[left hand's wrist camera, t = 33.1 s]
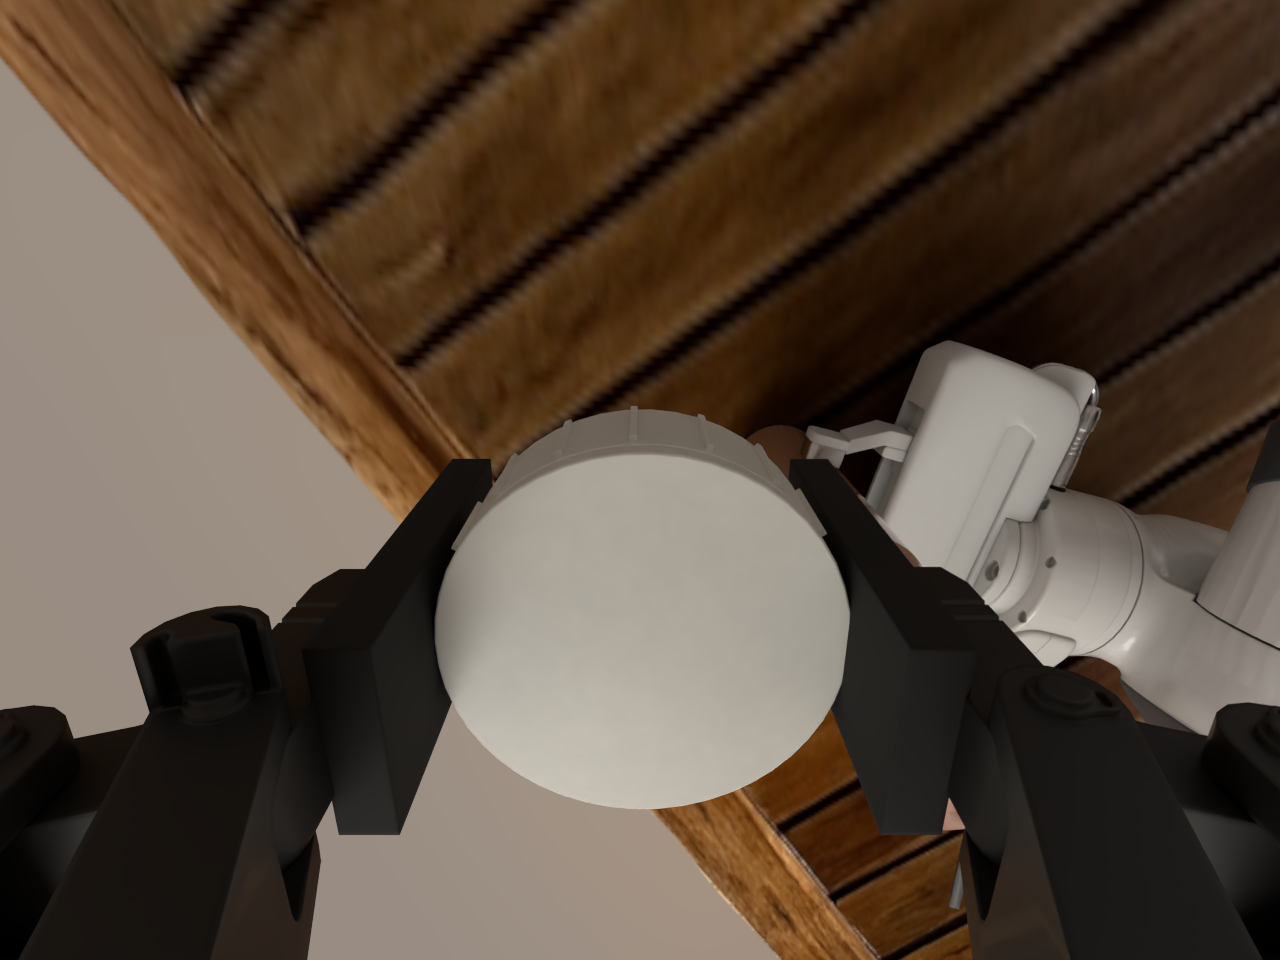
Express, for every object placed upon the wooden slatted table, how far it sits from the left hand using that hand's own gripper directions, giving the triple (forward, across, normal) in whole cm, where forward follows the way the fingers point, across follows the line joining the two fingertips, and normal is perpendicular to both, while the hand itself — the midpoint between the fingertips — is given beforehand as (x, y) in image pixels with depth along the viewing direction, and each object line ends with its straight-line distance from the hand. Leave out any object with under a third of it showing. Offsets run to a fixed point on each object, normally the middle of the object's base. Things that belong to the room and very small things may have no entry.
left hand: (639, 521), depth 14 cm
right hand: (+20, +8, -8) cm, 23 cm away
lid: (-4, 0, 0) cm, 4 cm away
